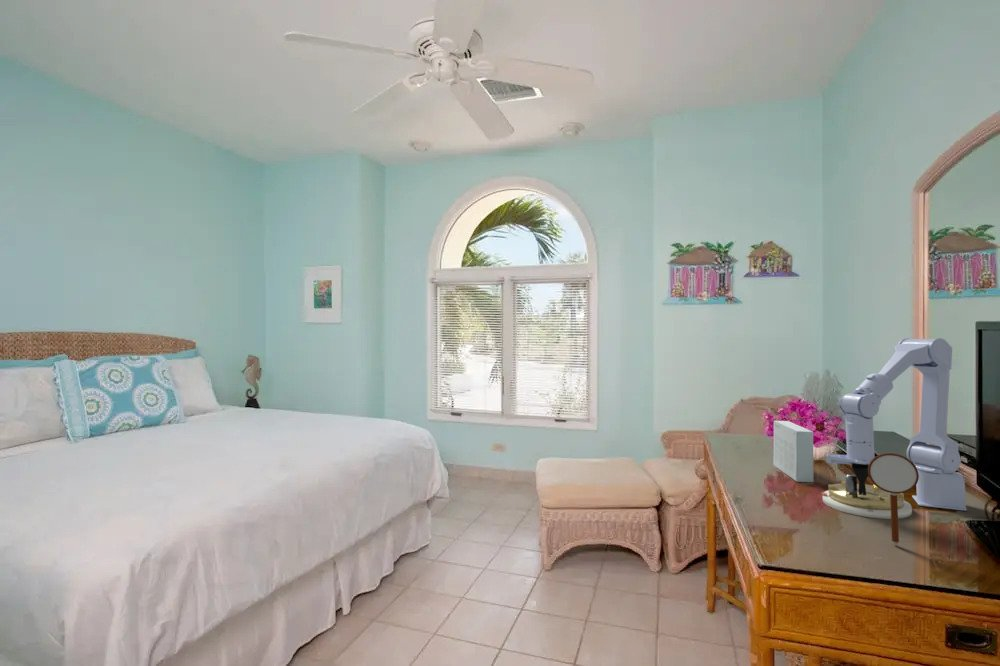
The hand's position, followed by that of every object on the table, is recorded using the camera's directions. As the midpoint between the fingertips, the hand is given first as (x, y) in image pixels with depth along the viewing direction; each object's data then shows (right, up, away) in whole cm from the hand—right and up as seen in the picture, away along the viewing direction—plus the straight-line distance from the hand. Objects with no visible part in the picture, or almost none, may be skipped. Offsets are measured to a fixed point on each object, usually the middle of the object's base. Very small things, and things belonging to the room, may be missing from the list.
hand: (862, 493), depth 125 cm
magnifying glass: (-7, -5, -19) cm, 21 cm away
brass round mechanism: (+4, -3, +5) cm, 7 cm away
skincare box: (+4, -5, +36) cm, 37 cm away
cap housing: (+5, -5, +5) cm, 8 cm away
